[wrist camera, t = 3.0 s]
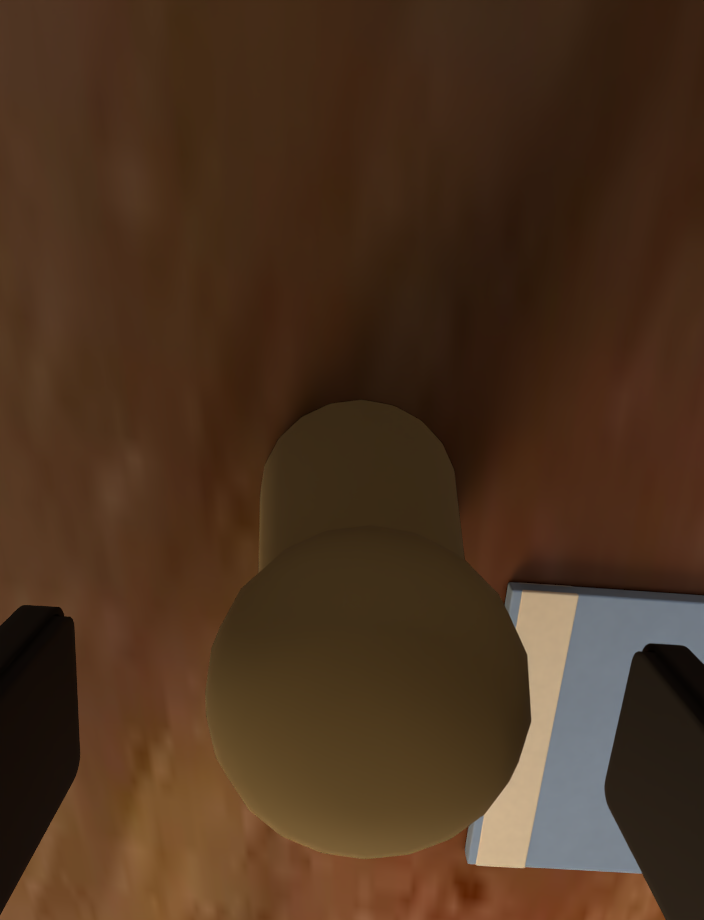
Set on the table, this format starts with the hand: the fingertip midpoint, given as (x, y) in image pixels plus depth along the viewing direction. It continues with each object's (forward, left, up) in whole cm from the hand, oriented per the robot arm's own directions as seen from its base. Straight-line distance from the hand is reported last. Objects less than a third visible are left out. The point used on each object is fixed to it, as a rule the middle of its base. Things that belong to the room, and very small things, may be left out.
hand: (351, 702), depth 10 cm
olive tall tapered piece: (0, 0, -9) cm, 9 cm away
